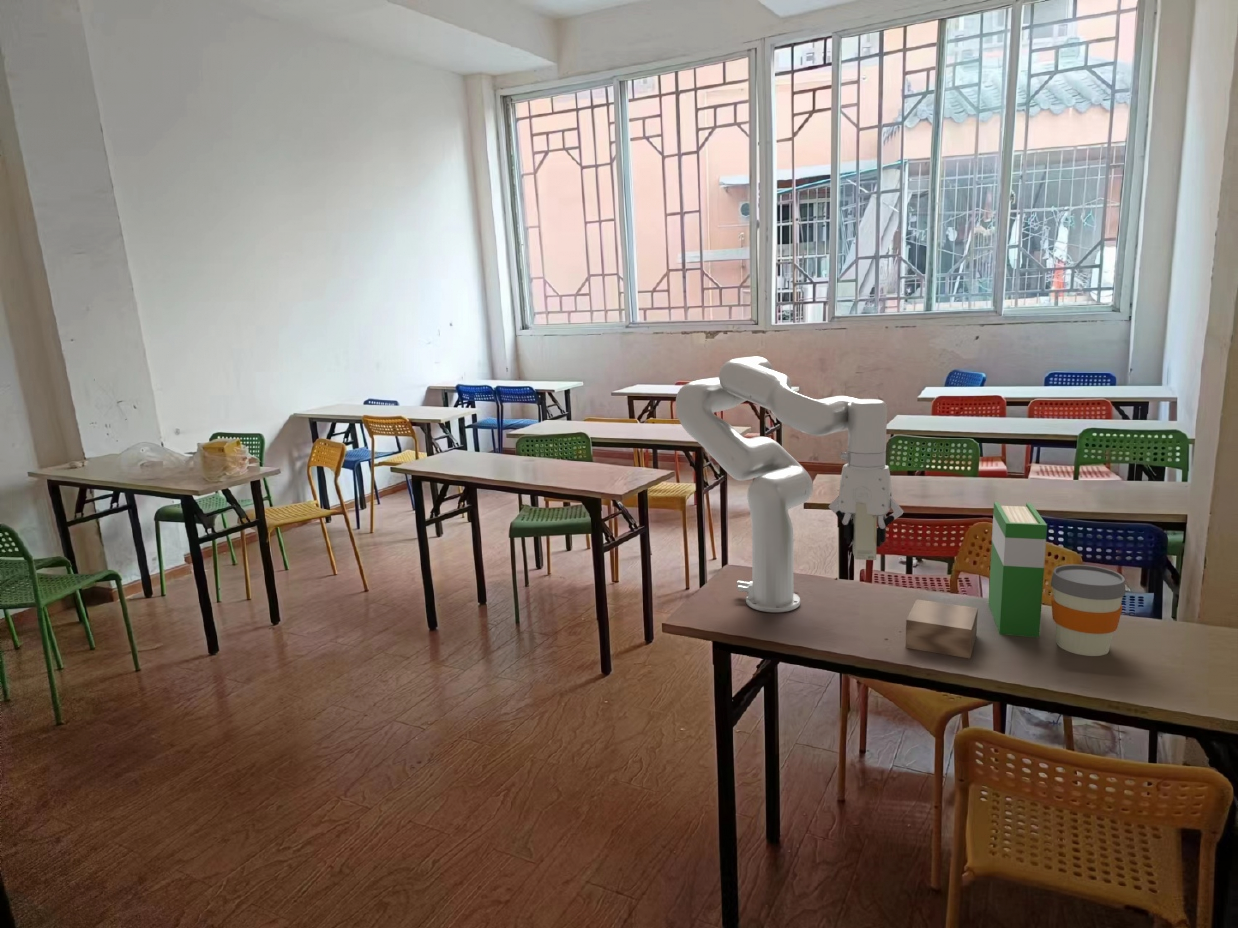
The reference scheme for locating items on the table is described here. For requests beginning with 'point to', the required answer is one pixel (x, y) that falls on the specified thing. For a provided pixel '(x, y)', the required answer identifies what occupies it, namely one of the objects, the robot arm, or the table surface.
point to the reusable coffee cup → (1086, 607)
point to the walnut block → (941, 628)
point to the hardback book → (1017, 569)
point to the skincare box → (864, 534)
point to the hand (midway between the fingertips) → (864, 542)
